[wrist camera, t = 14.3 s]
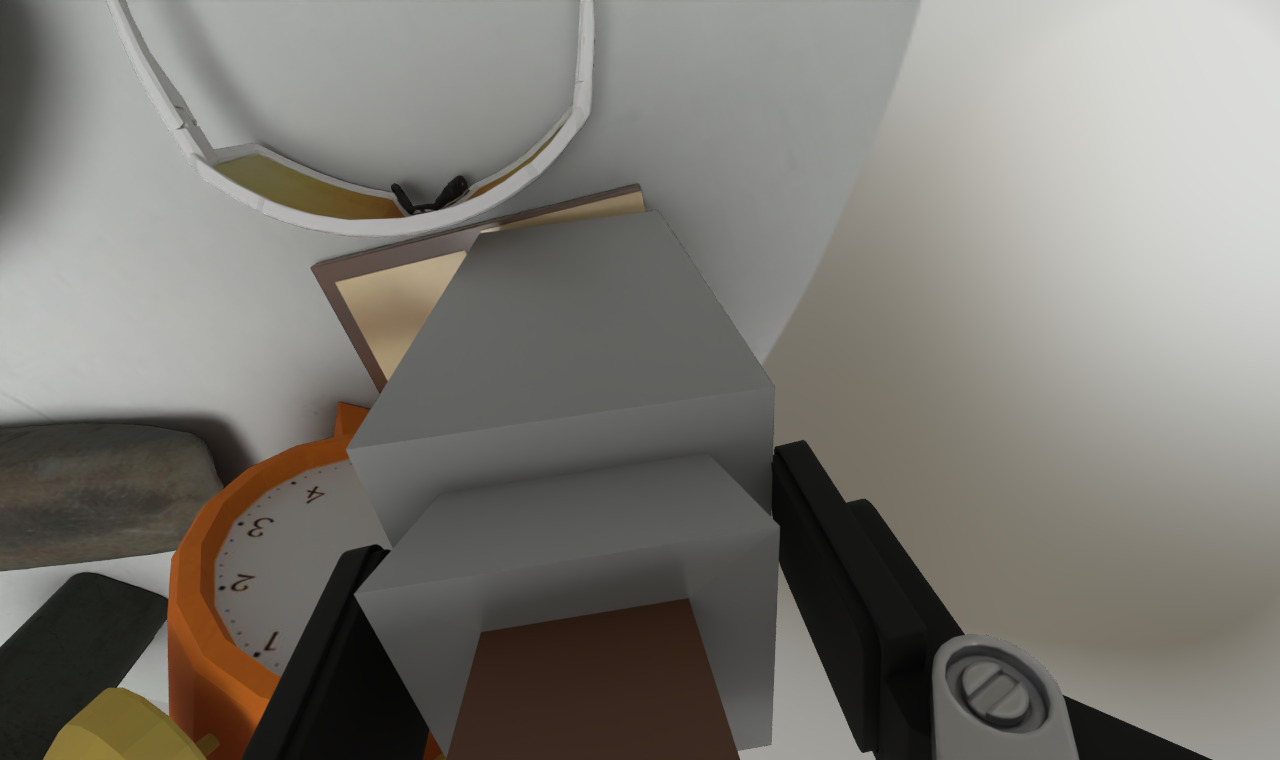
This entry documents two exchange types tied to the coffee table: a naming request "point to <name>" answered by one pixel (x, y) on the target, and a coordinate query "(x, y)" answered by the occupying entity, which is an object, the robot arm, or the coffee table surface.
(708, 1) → the coffee table surface
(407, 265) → the brown picture frame
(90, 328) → the coffee table surface
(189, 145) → the sunglasses
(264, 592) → the alarm clock
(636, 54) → the coffee table surface
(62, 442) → the decorative stone
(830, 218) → the coffee table surface
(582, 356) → the perfume bottle
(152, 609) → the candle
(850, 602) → the robot arm
